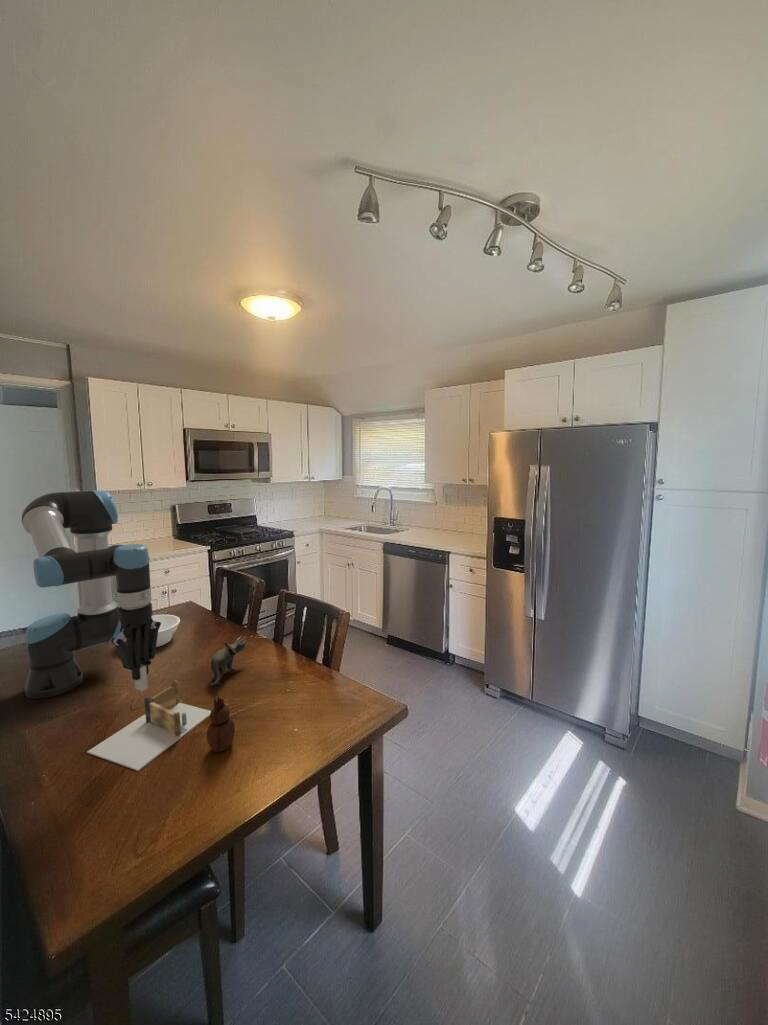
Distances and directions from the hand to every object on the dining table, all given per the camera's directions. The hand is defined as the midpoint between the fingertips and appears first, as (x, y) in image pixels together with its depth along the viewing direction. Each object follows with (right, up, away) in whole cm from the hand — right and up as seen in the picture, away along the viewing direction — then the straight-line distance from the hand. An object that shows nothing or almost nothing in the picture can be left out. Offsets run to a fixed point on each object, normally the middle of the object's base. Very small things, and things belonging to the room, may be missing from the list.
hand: (141, 688), depth 112 cm
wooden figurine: (+22, -15, -2) cm, 27 cm away
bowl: (-30, -7, +60) cm, 67 cm away
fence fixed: (-1, -13, +13) cm, 18 cm away
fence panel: (+4, -13, +4) cm, 14 cm away
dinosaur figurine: (+9, -10, +33) cm, 35 cm away
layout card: (+1, -14, +4) cm, 15 cm away
